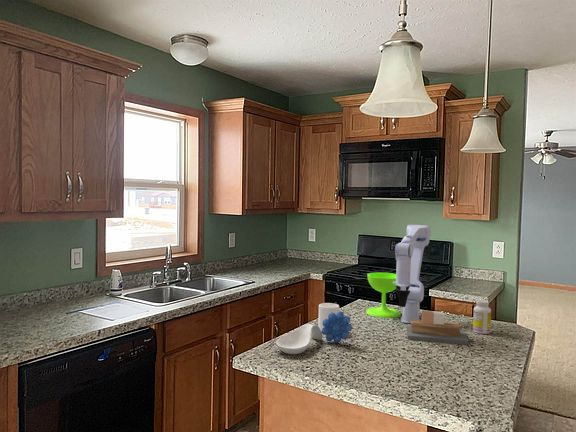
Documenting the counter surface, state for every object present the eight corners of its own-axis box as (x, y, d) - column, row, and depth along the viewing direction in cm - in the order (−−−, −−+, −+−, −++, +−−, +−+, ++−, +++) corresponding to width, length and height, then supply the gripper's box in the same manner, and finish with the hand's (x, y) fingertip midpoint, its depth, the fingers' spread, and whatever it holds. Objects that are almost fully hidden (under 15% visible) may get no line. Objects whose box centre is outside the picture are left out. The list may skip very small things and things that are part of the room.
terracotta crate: (421, 320, 183) (422, 310, 182) (432, 321, 182) (432, 311, 182) (422, 323, 179) (422, 313, 179) (433, 323, 178) (433, 313, 178)
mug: (323, 324, 194) (324, 300, 194) (342, 326, 192) (343, 302, 191) (315, 331, 183) (316, 306, 183) (335, 334, 180) (336, 308, 180)
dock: (406, 329, 189) (406, 325, 189) (462, 333, 184) (462, 330, 184) (407, 339, 176) (407, 335, 175) (468, 344, 171) (468, 340, 171)
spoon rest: (298, 360, 151) (299, 339, 151) (269, 353, 158) (269, 333, 157) (330, 341, 172) (330, 323, 171) (303, 336, 178) (303, 318, 177)
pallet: (411, 329, 184) (411, 319, 184) (457, 332, 180) (458, 322, 180) (411, 332, 179) (411, 322, 179) (459, 336, 175) (460, 326, 175)
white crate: (432, 321, 182) (432, 311, 182) (442, 321, 181) (443, 312, 181) (433, 323, 178) (433, 313, 178) (444, 324, 177) (444, 314, 177)
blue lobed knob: (354, 341, 172) (355, 310, 171) (350, 347, 165) (351, 314, 165) (324, 337, 176) (325, 306, 175) (319, 342, 169) (320, 310, 169)
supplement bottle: (487, 330, 190) (488, 299, 190) (492, 334, 184) (494, 303, 183) (470, 329, 191) (471, 298, 190) (475, 334, 184) (476, 302, 184)
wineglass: (394, 319, 204) (395, 279, 203) (360, 314, 212) (361, 276, 211) (405, 312, 217) (406, 274, 217) (373, 307, 226) (374, 271, 225)
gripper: (393, 269, 195) (392, 300, 196) (393, 274, 181) (392, 307, 182) (410, 270, 194) (409, 301, 194) (411, 275, 180) (410, 309, 180)
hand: (402, 304), depth 188 cm, fingers open, 7 cm apart
